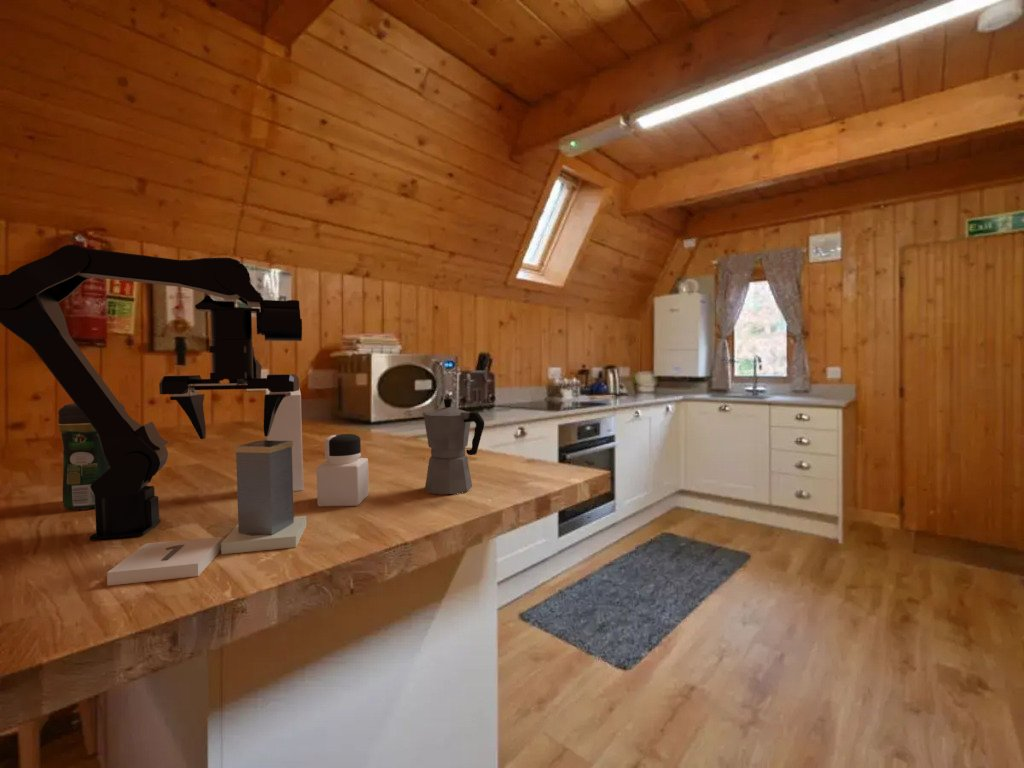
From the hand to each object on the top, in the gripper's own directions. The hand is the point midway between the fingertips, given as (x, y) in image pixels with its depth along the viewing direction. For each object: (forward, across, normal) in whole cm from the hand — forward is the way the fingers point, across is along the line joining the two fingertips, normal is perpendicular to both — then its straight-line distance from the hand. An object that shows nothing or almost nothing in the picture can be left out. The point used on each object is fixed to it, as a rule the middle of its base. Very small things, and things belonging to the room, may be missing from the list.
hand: (235, 437), depth 77 cm
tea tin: (+11, -7, +12) cm, 18 cm away
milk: (+13, -4, -17) cm, 22 cm away
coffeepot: (+13, -36, -7) cm, 39 cm away
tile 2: (+13, -7, +12) cm, 19 cm away
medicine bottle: (+13, -16, -5) cm, 21 cm away
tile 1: (+13, +2, +18) cm, 23 cm away
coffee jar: (+13, +27, -16) cm, 34 cm away
